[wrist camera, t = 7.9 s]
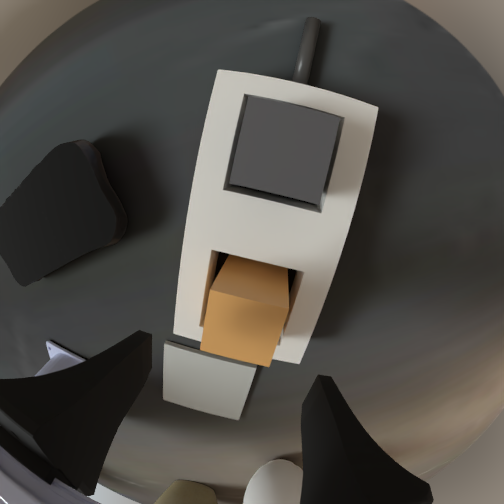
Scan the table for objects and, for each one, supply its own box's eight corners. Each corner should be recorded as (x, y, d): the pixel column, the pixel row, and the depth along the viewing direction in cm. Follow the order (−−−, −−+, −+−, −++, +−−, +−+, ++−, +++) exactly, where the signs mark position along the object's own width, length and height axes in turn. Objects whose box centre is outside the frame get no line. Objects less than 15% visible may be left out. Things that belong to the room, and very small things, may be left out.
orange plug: (273, 313, 20) (269, 367, 15) (220, 301, 20) (199, 349, 15) (287, 265, 19) (289, 308, 13) (230, 251, 19) (209, 289, 13)
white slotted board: (297, 339, 21) (299, 364, 18) (186, 312, 21) (173, 333, 18) (375, 42, 13) (389, 26, 10) (248, 13, 14) (242, -8, 11)
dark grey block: (306, 191, 17) (319, 204, 12) (245, 176, 17) (229, 183, 12) (320, 132, 16) (340, 117, 10) (259, 117, 16) (248, 95, 10)
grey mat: (239, 416, 25) (238, 420, 24) (164, 396, 25) (163, 399, 24) (256, 364, 22) (256, 368, 22) (166, 340, 22) (164, 343, 22)
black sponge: (106, 129, 17) (76, 126, 14) (143, 228, 20) (118, 242, 16) (10, 211, 21) (-14, 220, 17) (37, 282, 23) (15, 296, 19)
